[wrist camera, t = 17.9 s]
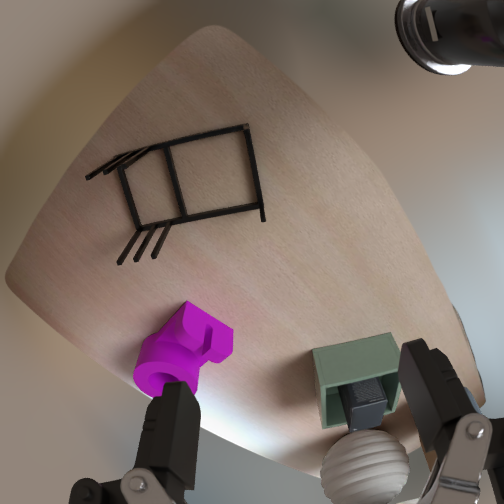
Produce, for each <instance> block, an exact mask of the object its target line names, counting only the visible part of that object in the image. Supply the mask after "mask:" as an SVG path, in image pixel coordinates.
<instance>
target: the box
mask: <svg viewBox="0 0 504 504" xmlns="http://www.w3.org/2000/svg"><path fill="white" fill-rule="evenodd" d="M337 388H338V391H339V395H340V399H341V402H342V406H343V410H344V413H345V417H346V421H347V425H348V428H349V432H350V433H352V432H356V431H360V430H364V429H369V428H372V427H376V426H379V425H381V422H382V418H383V414H384V410H385V407H386V403H387V398H386V395H385V393H384V390H383V388H382V385H381V382H380V380H379V377H374V378H370V379H366V380H361V381H357V382H353V383H348V384H344V385H339V386H337Z"/></svg>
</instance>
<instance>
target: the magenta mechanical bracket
mask: <svg viewBox="0 0 504 504" xmlns="http://www.w3.org/2000/svg"><path fill="white" fill-rule="evenodd" d="M232 351H233V329H231V328H230V327H228V326H226V325H225V324H223V323H222V322H220V321H218V320H217V319H215V318H214V317H212V316H210V315H209V314H207V313H206V312H204V311H203V310H201V309H199V308H198V307H196V306H195V305H193V304H192V303H190V302H189V301H186V302H185V303H184V304H183V306H182V307H181V308H180V309H179V310H178V311H177V312H176V313H175V314H174V315H173V316H172V317H171V319H170V320H169V321H168V322H167V323H166V324H165V325H164V326H163V327H162V328H161V329H160V331H159V332H158V333H155V334H152V335H150V336H148V337H147V338H146V339H145V340H144V342H143V344H142V347H141V351H140V354H139V357H138V360H137V363H136V367H135V370H134V373H133V379H134V382H135V384H136V385H137V386H138V388H139V389H140V390H141V391H143V392H144V393H145V394H147V395H149V396H151V397H153V398H154V397H155V396H161V395H162V390H163V386H164V384H165V383H166V382H175V381H186V382H187V384H188V386H189V387H190V389H191V391H192V393H193V394H194V395H195V393H196V391H197V386H198V378H199V370H200V367H201V366H202V365H203V364H205V363H206V362H207V361H208V360H210V361H211V362H214V363H221V362H222V361H223V360H224V359H226V358H227V357H228V356H229V355H231V354H232Z"/></svg>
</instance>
